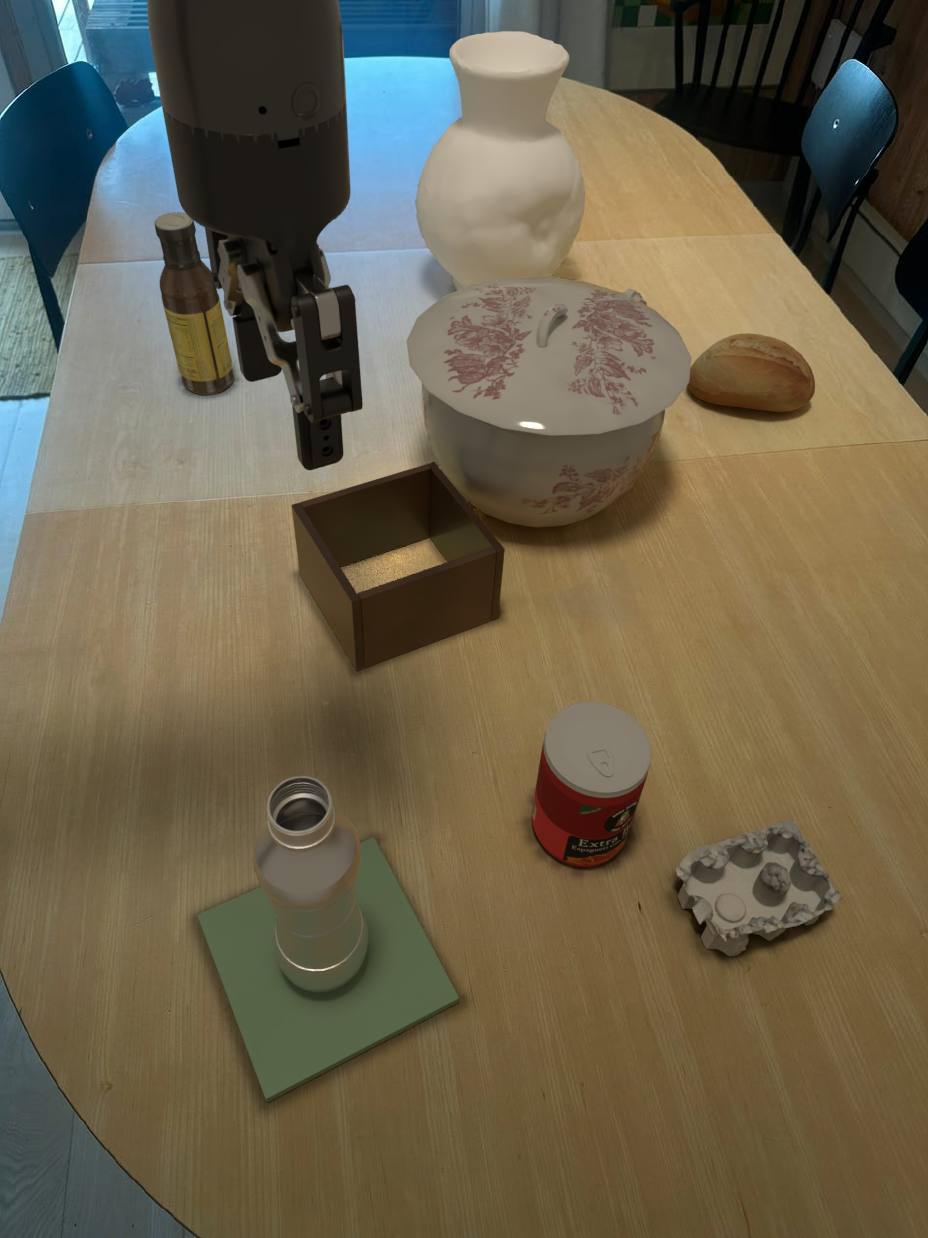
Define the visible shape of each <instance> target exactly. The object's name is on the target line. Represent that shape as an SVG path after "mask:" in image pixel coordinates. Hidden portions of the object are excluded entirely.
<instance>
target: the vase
mask: <svg viewBox="0 0 928 1238" xmlns="http://www.w3.org/2000/svg"><path fill="white" fill-rule="evenodd" d="M448 56H449V60H450V63H451V66H452V69H453V71H454V74H455V76H456V79H457V83H458V87H459V94H460V105H461V117H459V118H457V119H456V120H455V121H453V122H452V123H451V124H450V125H448V127H447V128H446V130H445V131H444V132H443V133H442V134H441V136H439V138H438V140H437V142H435V144H433V146H432V148H431V149H430V151H429V155H428V157H426V160H425V163H424V165H423V168H422V171H421V174H420V176H419V178H418V182H417V190H416V191H417V194H416V197H415V202H414V203H415V210H416V215H415V217H416V221H417V226H418V230H419V233H420V235H421V238H422V239H423V241H424V243H425V246H426V247H427V249H428V250H429V252H430V253H431V254H432V256H433V257H434V258H435V260H436V261H437V262H438V264H439V265H440V266H441V268H442V269H444V270H445V271H446V272H447V273H448V274H449V275H451V277H453V278H452V283H453V285H454V287H455V289H456V291H458V290H460V289H462V288H465V287H467V286H469V285H472V284H477V283H482V282H487V281H493V280H498V279H503V278H508V277H552V275H553V274H554V273H555V272H556V270H557V269H558V268H559V266H561V264H562V263H563V261H564V259H565V258H566V256H567V255H568V254H569V253H570V250H571V249H572V248H573V245H574V242H575V240H576V238H577V237H578V234H579V232H580V229H581V225H582V219H583V217H584V212H585V202H586V186H585V182H584V177H583V174H582V168H581V165H580V162H579V158H578V156H577V155H576V153H575V151H574V149H573V148H572V146H571V145H570V143H569V141H568V140H567V138H566V137H565V135H564V133H562V131H561V130H560V129H559V128H557V127H556V126H555V125H553V124H552V123H550V122H549V121H547V120H546V119H547V111H548V108H549V104H550V102H551V99H552V97H553V94H554V92H555V90H556V87H557V85H558V83H559V82H560V79H561V77H562V76H563V74H564V72H565V71H566V70H567V67H568V65H569V62H570V54H569V53H568V50H566V48H564V47H563V45H562V44H559V43H555V42H554V41H553V40H550V39H547V38H543V37H540V36H539V35H536V34H532V33H530V32H526V31H519V30H518V31H517V30H516V31H513V30H506V31H505V30H504V31H495V32H490V31H489V32H483V33H476V34H472V35H467V36H465V37H461V38H459V39H458V40H456V41H455V42H454V43H453V44H451V47H450V48H449V55H448Z"/></svg>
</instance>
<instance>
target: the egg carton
mask: <svg viewBox="0 0 928 1238" xmlns="http://www.w3.org/2000/svg"><path fill="white" fill-rule="evenodd" d="M675 872H676V873H675V874H676V875H677V877H679V879H681V880H682V883H683V884H682V886H681V888H680V890H679V892H678V894H677V898H678V901H679V903H680V906H681V908H682V910H688V909H692V912H693V914H694V917H695V918H696V920H697V922H698V924H699V925H702V923H703V922H705V923H706V926H705V929H704V930H703V932H702V934H701V936H700V937H701V942H702V943H703V945H704V947H705V948H706V950H717V951H720V952H722V953H724V954H725V955H726V956H728V957H736V956H738V955H740V954H741V953H742V952H744V951H745V950H747V946H748V944H749V940H750V938H749V935H750V934H754V935H759V936H760V937H762V938H764V940H767V941H768V942H770V941H772V940H773V939H775V938H777V937H780V935H781V934H783V933H784V932H785V931H786V929H788V928H793V927H797V926H800V925H802V924H804V925H805V926H809V925H814V924H815V923H816V922H817V921H818V920H819V916H820V915H822V914H823V913H824V912H826V911H832V909H834V906H835V904H837V903H838V902H839V901H841V900H842V894H841V893H840V892H839V890H836V889H835V888H834V886H833V885H832V883H831V881H830V875H829V872H828V871H827V870H825V868H823V867H822V865H821V863H820V861H819V857H817V855H816V854H815V853H814V850H813V849H812V846H811V844H810V843H809V842H807V841H806V840H805V839H804V838H803V836H802V833H801V831H800V829H799V827H798V826H797V824H796V822H795V821H794V819H792V818H789V819H786V820H782V821H780V822H778V823H774V824H771V825H769V826H767V827H765V828H763V829H755V830H754V831H752V832H746V831H744V832H742V833H740V834H738V835H735V836H733V837H729V838H726V839H722V840H720V841H718V842H715V843H711V844H706V845H702V846H698V847H695V848H694V849H691V850H690V851H689V852H688V853H686V855H685V856H684V857H683V859H682V860H681V861H680V863H679V865H677V866H676V868H675Z"/></svg>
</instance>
